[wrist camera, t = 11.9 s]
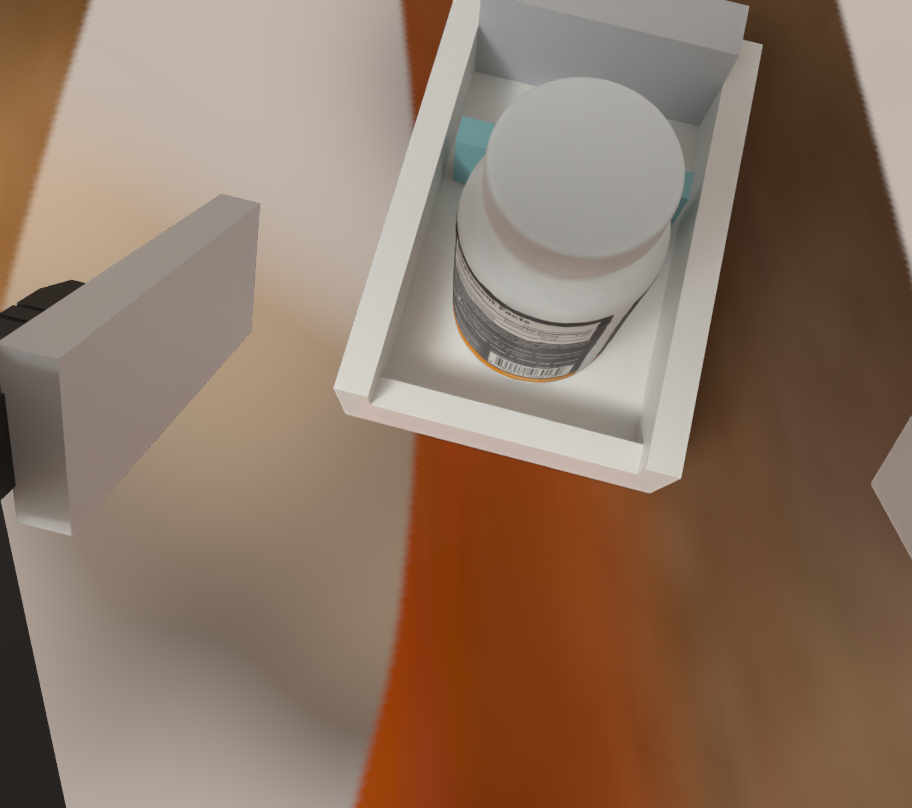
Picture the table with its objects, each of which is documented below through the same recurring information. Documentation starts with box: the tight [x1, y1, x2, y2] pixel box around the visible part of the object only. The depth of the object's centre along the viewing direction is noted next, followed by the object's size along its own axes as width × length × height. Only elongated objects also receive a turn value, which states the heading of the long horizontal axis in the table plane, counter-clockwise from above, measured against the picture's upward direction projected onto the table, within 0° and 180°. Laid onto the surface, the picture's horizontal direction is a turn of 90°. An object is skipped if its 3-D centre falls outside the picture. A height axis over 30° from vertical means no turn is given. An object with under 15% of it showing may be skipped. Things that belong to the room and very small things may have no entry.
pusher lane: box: [334, 0, 763, 493], centre depth 27 cm, size 16×11×5 cm
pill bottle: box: [453, 77, 685, 384], centre depth 23 cm, size 6×6×10 cm
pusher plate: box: [453, 116, 694, 226], centre depth 27 cm, size 3×8×2 cm, turn 75°
